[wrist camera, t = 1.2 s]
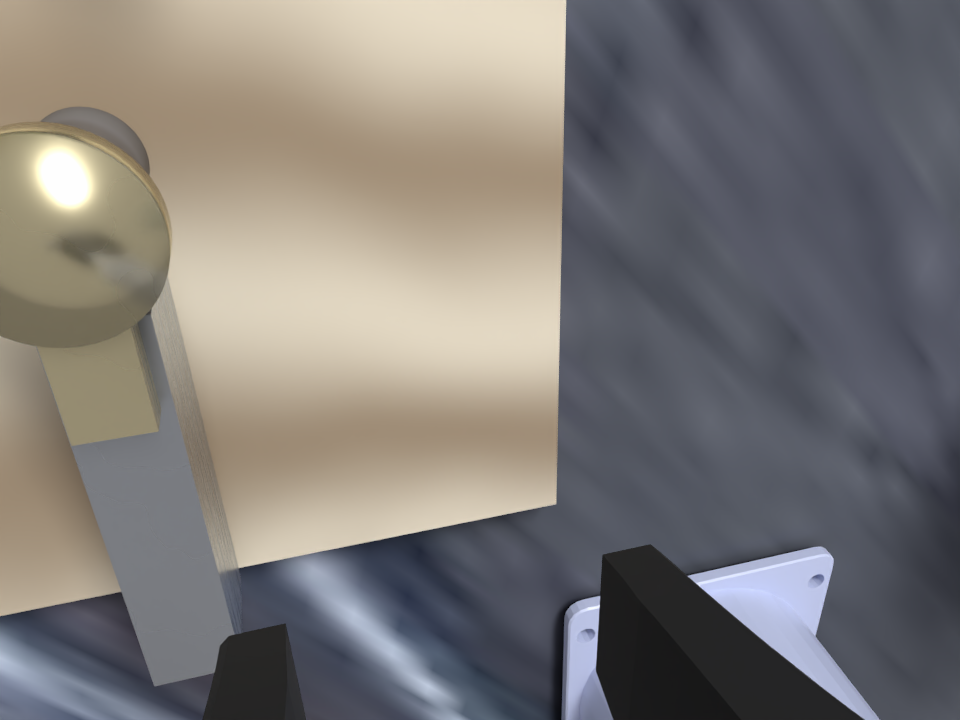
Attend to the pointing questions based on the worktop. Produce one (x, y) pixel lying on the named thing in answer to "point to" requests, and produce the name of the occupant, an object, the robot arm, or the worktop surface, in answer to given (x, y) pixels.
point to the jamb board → (314, 262)
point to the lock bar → (120, 381)
